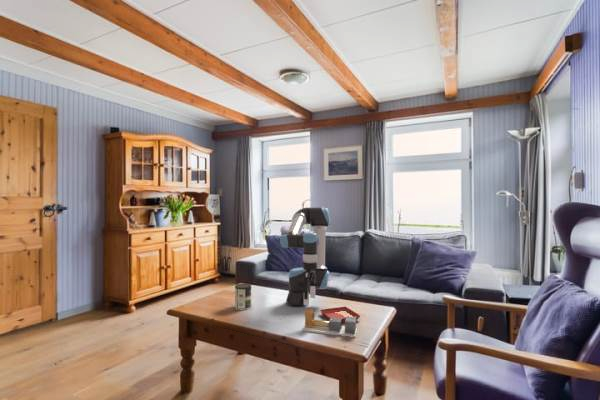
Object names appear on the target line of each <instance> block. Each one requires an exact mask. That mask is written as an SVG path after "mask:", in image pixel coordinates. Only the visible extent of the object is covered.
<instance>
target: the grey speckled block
mask: <svg viewBox="0 0 600 400" xmlns="http://www.w3.org/2000/svg"><path fill="white" fill-rule="evenodd" d="M328 321H329V331H336V332H340V328H342V326H343V322H342V318H333V317H331V318H330V320H329V319H328Z"/></svg>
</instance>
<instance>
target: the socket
mask: <svg viewBox="0 0 600 400" xmlns="http://www.w3.org/2000/svg"><path fill="white" fill-rule="evenodd" d="M344 327H345V333H347V334H355V332H356V328H357V320H356V317H349V316H347V317H346V320H345V322H344Z"/></svg>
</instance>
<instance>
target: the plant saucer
mask: <svg viewBox="0 0 600 400" xmlns="http://www.w3.org/2000/svg"><path fill="white" fill-rule="evenodd" d="M319 311H320V313H321V314H322V316H324V318H327V319H328V321H329V320H330V318H331V317H333V318H342V323H345V320H346V317H344V316H343V315H341V314H338V313H335V312H340V311H346V312H347V313H349V314H350V315H352V316H353V317H356V321H357V320H359V318H361V315H360V314H359V313H357V312H355V311H354V310H352V309H350V308H349V307H347V306H338V307H332V308H331V307H330V308H325V309H324V308H322V309H320V310H319Z"/></svg>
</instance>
